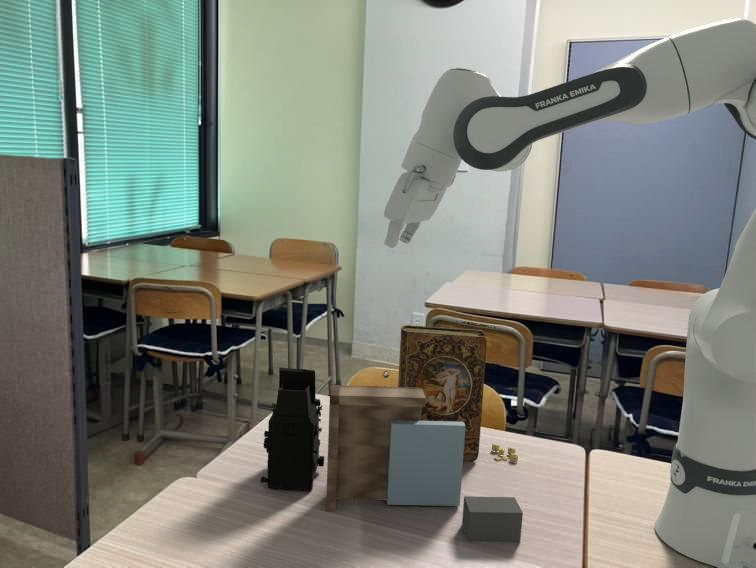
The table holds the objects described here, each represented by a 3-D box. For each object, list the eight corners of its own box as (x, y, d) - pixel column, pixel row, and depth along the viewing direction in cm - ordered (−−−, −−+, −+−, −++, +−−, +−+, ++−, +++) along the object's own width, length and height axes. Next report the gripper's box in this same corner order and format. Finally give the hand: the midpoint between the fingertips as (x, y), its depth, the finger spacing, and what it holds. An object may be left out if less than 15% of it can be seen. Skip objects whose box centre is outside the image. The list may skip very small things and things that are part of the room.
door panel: (457, 500, 101) (463, 421, 99) (459, 505, 99) (465, 425, 97) (386, 499, 100) (390, 419, 98) (387, 504, 99) (391, 423, 96)
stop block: (512, 526, 95) (514, 497, 94) (519, 543, 90) (522, 512, 90) (461, 525, 94) (464, 496, 94) (467, 542, 90) (469, 511, 89)
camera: (327, 458, 115) (330, 357, 112) (317, 494, 102) (321, 380, 98) (275, 455, 115) (277, 354, 112) (259, 491, 102) (260, 377, 99)
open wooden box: (415, 497, 102) (421, 387, 99) (418, 512, 97) (425, 397, 94) (327, 495, 101) (330, 385, 98) (325, 511, 97) (329, 395, 93)
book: (393, 455, 118) (400, 331, 114) (395, 443, 123) (402, 324, 119) (478, 462, 116) (487, 337, 112) (476, 450, 122) (485, 330, 118)
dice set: (491, 452, 123) (492, 443, 122) (517, 455, 122) (517, 446, 121) (490, 463, 118) (491, 453, 117) (517, 466, 117) (518, 457, 116)
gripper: (433, 172, 88) (397, 257, 91) (457, 176, 107) (427, 247, 111) (395, 155, 89) (361, 240, 93) (425, 163, 109) (396, 233, 112)
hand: (397, 244), depth 102 cm, fingers open, 8 cm apart
